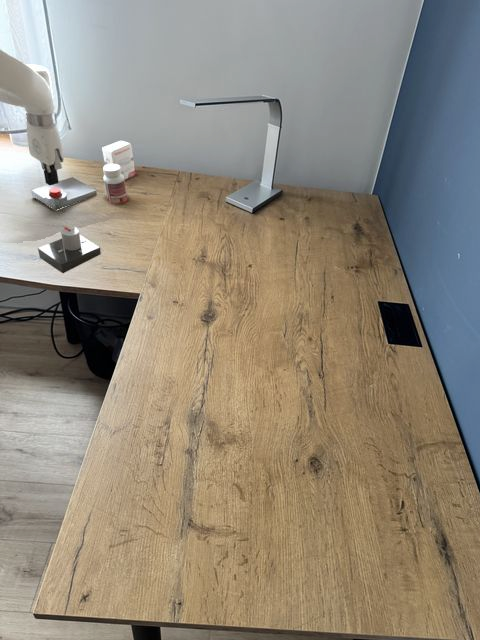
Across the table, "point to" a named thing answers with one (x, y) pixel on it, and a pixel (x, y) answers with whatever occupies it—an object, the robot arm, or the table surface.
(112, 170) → the pill bottle
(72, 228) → the hob knob
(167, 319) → the table surface
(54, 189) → the button
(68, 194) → the block
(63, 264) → the base plate
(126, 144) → the ink box
